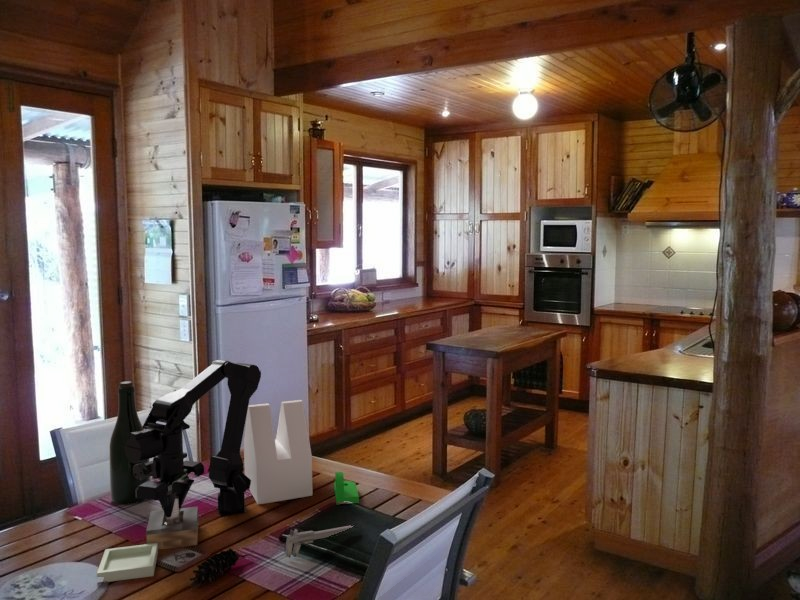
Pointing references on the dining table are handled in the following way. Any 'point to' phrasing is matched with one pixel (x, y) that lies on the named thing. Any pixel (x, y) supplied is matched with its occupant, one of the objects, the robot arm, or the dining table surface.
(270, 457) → the white notched block
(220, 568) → the pine cone
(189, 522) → the block
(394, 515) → the dining table surface
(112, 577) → the tray
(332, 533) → the caliper
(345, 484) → the mechanical part
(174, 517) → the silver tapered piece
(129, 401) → the dark green wine bottle
